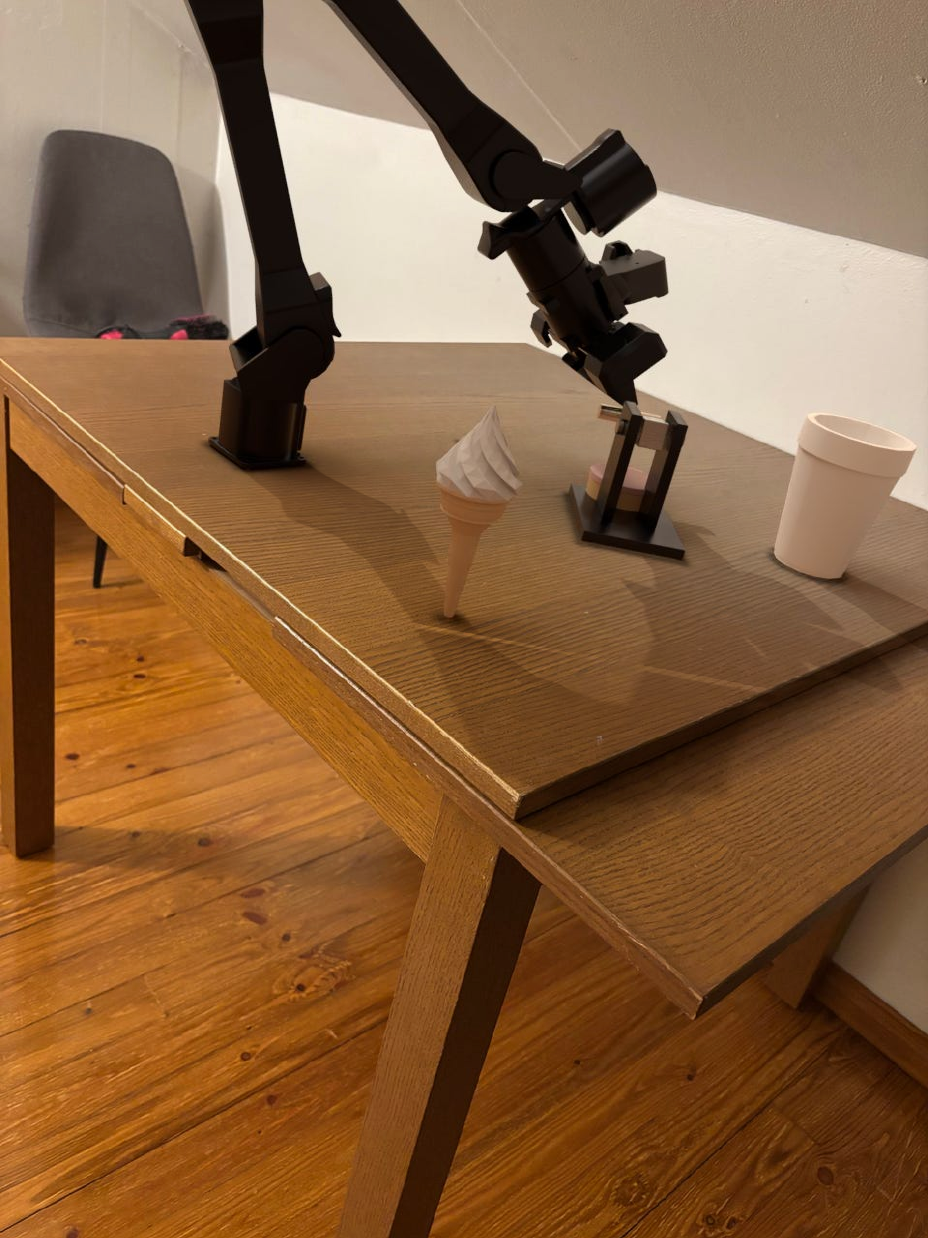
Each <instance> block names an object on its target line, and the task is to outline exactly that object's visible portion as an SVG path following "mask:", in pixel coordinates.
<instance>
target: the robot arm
mask: <svg viewBox="0 0 928 1238" xmlns="http://www.w3.org/2000/svg"><path fill="white" fill-rule="evenodd" d="M182 1H183V3H184V6H185V8H186V11H187V13H188V16H189V19H190V21H191V24H192V26H193V29H194V31H195V33H196V36H197V38H198V41H199V43H200V46H201V48H202V50H203V53H204V55H205V57H206V60H207V61H208V65H209V67H210V70H211V72H212V76H213V81H214V86H215V90H216V94H217V98H218V104H219V107H220V112H221V116H222V120H223V121H222V122H223V126H224V130H225V135H226V138H227V144H228V149H229V152H230V156H231V161H232V166H233V169H234V175H235V179H236V183H237V187H238V192H239V196H240V201H241V205H242V209H243V215H244V219H245V223H246V227H247V231H248V237H249V242H250V245H251V250H252V253H253V254H252V255H253V258H254V304H255V318H256V319H255V321H256V325H254V326H253V327H251V328H250V329H249V330H248V331H246V332H245V333H243V334H242V335H241V336H239V337H238V338H237V339H235V340H234V341H233V342H231V343H229V346H228V349H229V353H230V357H231V361H232V365H233V368H234V370H235V374H236V376H234V377H232V378H231V379H223V386H222V396H221V405H220V406H221V407H220V416H219V428H218V435H216V436H215V435H213V436H209V437H208V444H209V445H211V446H212V447H213V448H214V449H216V450H218V451H219V452H220V453H222V454H223V455H225V456H226V457H227V458H228V459H230V460H231V461H232V462H233V463H235V464H236V465H238V466H239V467H241V468H242V469H256V468H271V467H283V466H296V465H297V466H299V465H300V466H301V465H306V464H307V463H308V457H306V456H305V455H303V453H301V452H300V451H301V450H302V448H303V442H304V434H305V426H306V420H307V419H306V418H307V413H308V407H307V406H306V404H305V400H306V399H305V398H306V393H307V391H306V390H307V389H308V387H309V385H310V383H311V381H312V380H314V379H318V377H320V376H321V375H322V374H324V373H325V372H326V371H327V369H328V368H329V367H330V365H331V363H332V362H333V361H334V358H335V354H336V345H335V343H336V341H335V338H334V337H336V338H339V339H340V338H342V336H343V334H342V333H341V331H340V329H339V328H338V326H337V323H336V321H335V318H334V317H335V316H334V297H333V296H334V295H333V287H332V285H331V284H330V283H329V281H328V280H327V279H326V278H325V276H324V275H323V273H321V272H320V271H318V272H313V273H312V274H309V272H308V269H307V267H306V265H305V262H304V259H303V255H302V250H301V245H300V239H299V234H298V230H297V223H296V219H295V215H294V208H293V205H292V200H291V195H290V189H289V185H288V179H287V175H286V169H285V164H284V160H283V155H282V150H281V145H280V140H279V135H278V131H277V126H276V125H277V124H276V120H275V119H276V118H275V115H274V110H273V105H272V100H271V96H270V90H269V85H268V80H267V76H266V75H267V74H266V71H265V59H264V50H265V49H264V46H265V45H264V41H265V40H264V39H265V38H264V35H265V33H264V29H265V26H264V25H265V16H264V13H265V10H264V9H265V8H264V0H182ZM321 1H322V2H323V3H325V5H327V6H328V7H329V8H330V9H331V11H332V12H333V13H334V14H335V16H337V18H338V19H339V20H340V21H341V23H342V24H343V25H344V26H345V27H346V29H347V30H348V31H349V32H350V33H351V35H352V36H353V37H354V38H355V39H356V41H357V42H358V43H359V44H360V45H361V46H362V48H363V49H364V50H365V51H366V52H367V53H368V55H369V56H370V58H372V59H373V60H374V62H375V63H376V64H377V65H378V67H379V68H380V69H381V70H382V72H383V73H384V74H385V75H386V76H387V78H389V80H390V81H391V82H392V83H393V84H394V85H395V87H396V88H397V89H398V90H399V91H400V92H401V94H402V95H403V97H404V98H405V99H406V100H407V101H408V102H409V104H410V105H411V106H412V107H413V108H414V110H415V111H416V112H417V113H418V114H419V115H420V116H421V118H422V119H423V120H424V121H425V123H426V125H427V126H428V127H429V129H430V131H431V133H432V134H433V136H434V138H435V140H436V142H437V145H438V147H439V149H440V151H441V153H442V155H443V157H444V159H445V161H446V163H447V164H448V166H449V168H450V169H451V171H452V173H453V175H454V176H455V178H456V179H457V182H458V183H459V185H460V187H461V188H462V189H463V191H464V192H465V194H466V195H468V196H469V197H470V198H471V199H473V200H474V201H476V202H478V203H480V204H481V205H483V206H486V207H488V208H489V209H492V210H494V211H496V212H499V213H509V214H508V215H507V216H505V217H504V218H502V220H500V221H499V222H491V221H488V220H484V221H483V222H482V224H481V226H482V230H481V235H480V238H479V240H478V241H479V242H478V244H477V248H476V249H477V252H478V253H479V254H481V255H482V256H484V257H485V258H487V259H489V260H490V261H494V260H496V259H498V258H499V257H500V256H501V255H502V254H504V253H505V252H506V254H507V256H508V258H509V260H510V261H511V263H512V265H513V266H514V268H515V270H516V271H517V273H518V275H519V276H520V278H521V280H522V282H523V283H524V285H525V287H526V288H527V292H526V293H525V295H526V296H527V299H528V300H529V302H530V303H531V304H532V305H534V306H535V307H537V308H538V309H537V310H535V312H533V313H532V316H531V321H530V324H529V327H530V329H531V331H532V333H533V334H534V336H535V338H536V339H537V341H538V342H539V343H540V344H541V345H543V346H544V347H545V348H546V349H548V348H550V347H551V346H553V341H554V342H556V343H557V344H558V345H559V346H561V347H562V348H564V349H565V350H566V353H564V354H563V355H562V357H561V362H563V363H564V364H565V365H566V366H568V367H569V368H570V369H572V371H574V372H576V373H577V374H578V375H579V376H581V377H582V378H583V379H585V380H586V381H587V382H589V384H591V385H593V386H594V387H595V388H597V389H598V390H599V391H601V392H602V393H603V394H604V395H606V396H608V397H609V398H610V399H611V400H613V401H615V402H616V403H617V404H619V405H620V406H621V407H623V405H624V402H625V401H629V402H634V403H636V405H637V406H639V401H638V396H637V390H636V384H635V380H636V379H638V378H639V377H640V376H642V375H643V374H644V373H645V372H647V371H648V370H650V369H651V368H653V366H655V365H656V364H658V363H659V362H661V361H662V360H663V359H665V358H666V357H667V354H668V351H669V350H668V349H667V347H666V344H665V343H664V341H663V339H662V337H661V335H660V333H658V332H657V331H655V330H653V329H652V328H650V327H649V326H646V325H645V324H644V323H639V322H634V321H633V322H632V321H628V322H627V323H623V322H622V321H621V320H622V319H624V317H626V316H627V315H629V311H628V309H627V307H626V306H631V305H634V304H637V303H641V302H644V301H646V300H649V299H653V298H656V299H659V298H660V299H661V298H663V297H665V296H667V295H669V292H670V291H669V282H668V280H669V279H668V273H667V263H666V262H667V260H666V257H665V256H664V255H661V254H659V253H657V252H655V251H652V250H648V249H644V250H643V249H640V248H636V249H634V251H633V250H632V249H631V247H630V246H629V244H628V243H626V242H624V241H622V240H620V239H619V240H615V241H611V242H608V243H605V244H604V249H603V252H602V256H601V259H600V260H598V263H594V262H593V261H590V260H589V258H588V256H587V254H586V252H585V251H584V249H583V246H582V244H581V243H580V241H579V239H578V238H577V235H576V233H575V232H574V230H573V228H572V226H571V224H572V225H573V227H574V228H575V229H576V230H577V231H578V232H579V233H580V234H582V235H583V236H586V235H587V234H589V233H590V232H592V233H593V234H594V235H595V236H596V237H598V238H601V239H602V238H604V237H605V236H607V235H608V234H609V233H610V232H613V230H614V229H616V228H617V227H619V226H620V225H621V224H622V223H624V222H625V221H626V220H628V219H629V218H631V216H634V214H636V213H637V212H638V211H640V210H641V209H642V208H644V207H645V206H646V205H647V204H649V203H650V202H652V201H653V200H654V199H656V197H657V196H658V187H657V183H656V180H655V177H654V175H653V172H652V170H651V169H650V166H649V165H648V164H647V163H644V161H643V159H642V158H641V156H640V155H639V153H638V152H637V151H636V150H635V149H634V148H633V147H632V146H631V144H629V143H628V142H627V141H626V140H625V137H624V135H623V132H622V131H621V129H615V128H610V127H609V128H607V129H606V130H605V131H603V132H602V133H600V134H599V135H598V136H597V137H596V138H595V139H594V140H593V142H592V143H590V144H589V146H587V147H586V148H585V149H584V150H582V151H581V152H579V153H578V154H576V155H575V156H574V157H573V158H572V159H570V160H569V161H568V162H566V163H565V164H561V163H558V162H555V161H551V160H548V159H543V156H542V154H541V152H540V151H539V148H538V147H537V146H536V144H534V143H533V141H531V139H529V138H528V137H526V136H525V134H523V133H522V132H521V131H520V130H519V129H518V128H516V127H515V126H514V125H513V124H512V123H511V122H510V121H509V120H507V119H506V118H505V117H503V115H501V114H500V113H499V112H497V111H496V110H495V109H493V108H492V107H491V106H489V105H488V104H487V103H485V102H484V101H483V100H481V99H480V98H479V97H478V96H476V94H474V93H473V92H472V91H471V90H470V89H469V88H468V86H467V85H466V84H465V83H464V82H463V80H462V79H461V77H460V76H459V75H458V74H457V73H456V71H455V70H454V69H453V68H452V66H451V65H450V64H449V63H448V61H447V60H446V59H445V57H444V56H443V55H442V54H441V52H440V51H439V50H438V49H437V47H436V46H435V45H434V44H433V42H431V40H430V39H429V37H428V36H427V35H426V34H425V32H424V31H423V29H421V28H420V26H419V24H418V23H417V22H416V21H415V20H414V18H413V17H412V16H411V15H410V14H409V12H408V11H407V10H406V8H405V7H404V6H403V5H402V4H401V2H400V0H321ZM533 201H540V202H538V203H536V204H535V205H533V206H530V204H531V203H532V202H533ZM562 209H563V210H562ZM564 212H565V213H564ZM565 214H566V215H565ZM566 216H567V217H566ZM567 218H568V219H569V221H570V222H571V224H570V223H569V221H568V219H567ZM552 340H553V341H552Z"/></svg>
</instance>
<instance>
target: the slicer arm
mask: <svg viewBox="0 0 928 1238" xmlns="http://www.w3.org/2000/svg"><path fill="white" fill-rule="evenodd" d="M622 409H623V407H620V406H615V405H610V404H605V403H600V404H599V406H598V408H597V414H596V418H597V419H598V420H603V421H607V422H608V421H609V422H612V423H616V422H617V420H618V418H620V415H621V412H622ZM640 412H641V414H642V416H643V419H642V422H641V426H640V429H639V432H638V436H637V439H636V442H635V445H636V447H638V448H644V449H648V450H653V451H656V450H657V451H662V449H663V445H664V442H665V438H666V434H667V431H668V427H669V424H668V423H667V422H665V420H664V419H662V416H661V415H659V414H653V413H648V412H643V411H640Z"/></svg>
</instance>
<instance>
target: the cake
mask: <svg viewBox="0 0 928 1238" xmlns="http://www.w3.org/2000/svg"><path fill="white" fill-rule="evenodd" d="M606 464H607V462H598V463H597V462H596V463H593V464H592V465H590V469H589V472H588V475H589V476H588V479H587V483H586V485H585V486H586V492H587V494H588V495H589V496H590V497H592V498H593V499H595V500H596V499H597V496H598V492H599V489H600V485H601V482H602V478H603V475H604V471H605V468H606ZM648 475H649V473H646V472H644V471H641V470H639V469H637V468H634V467H630V466H628V469H627V473H626V476H625V479H624V483H623V486H622V490H621V493H620V496H619V500H618V503H617V506H616V508H618V509H622V510H627V511H639V508H640V505H641V501H642V498H643V496H644V493H645V484H646V481H647V478H648Z"/></svg>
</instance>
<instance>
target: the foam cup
mask: <svg viewBox="0 0 928 1238" xmlns="http://www.w3.org/2000/svg"><path fill="white" fill-rule="evenodd" d="M798 434H799V435H798V437H797V440H796V442H797V443H798V445H797V449H796V454H795V458H794V462H793V466H792V470H791V474H790V479H789V484H788V488H787V491H786V497H785V501H784V505H783V511H782V513H781V518H780V522H779V526H778V530H777V534H776V535H777V536H776V538H775V544H774V547H773V549H774V550H773V554H774V556H775V557H776V559H777V560H778V561H779V562H781V563H782V564H783V565H785V566H786V567H788V568H791V569H793V570H795V571H796V572H799V573H803V574H805V575H809V576H812V577H814V578H820V579H821V578H822V579H828V580H830V579H841V578H842V576H843V574H844V572H845V571H846V570H847V568H848V566H849V565H850V563H851V561H852V559H854V556H855V554H856V553H857V551H858V550H859V548H860V546H861V545H862V543H863V541H864V540H865V537H866V536H867V535H868V533H869V531H870V529H871V528H872V526H873V524H875V521H876V519H877V518H878V516H879V514H880V513H881V511H882V509H883V507H884V506H885V505H886V502H887V501H888V500H889V498H890V496H891V494H892V493H893V491H894V489H895V488H896V486H897V484H898V482H899V481H900V479H901V478H902V477H903V476H904V475H905V474H906V473H907V471H908V469H909V467H910V464H911V462H912V459H913V457H914V455H915V453H916V451H917V448H918V446H917V445H916V444H915V443H914V442H913V441H912V440H911V439H909V438H907V437H905V436H903V435H901V434H899V433H897V432H895V431H893V430H890V429H887V428H885V427H882V426H880V425H876V424H874V423H871V422H868V421H864V420H861V419H857V418H853V417H850V416H844V415H840V414H834V413H829V412H811V413H809V414H807V415H805V418H804V422H803V424H802V427H801V429H800V431H799V433H798Z"/></svg>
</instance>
